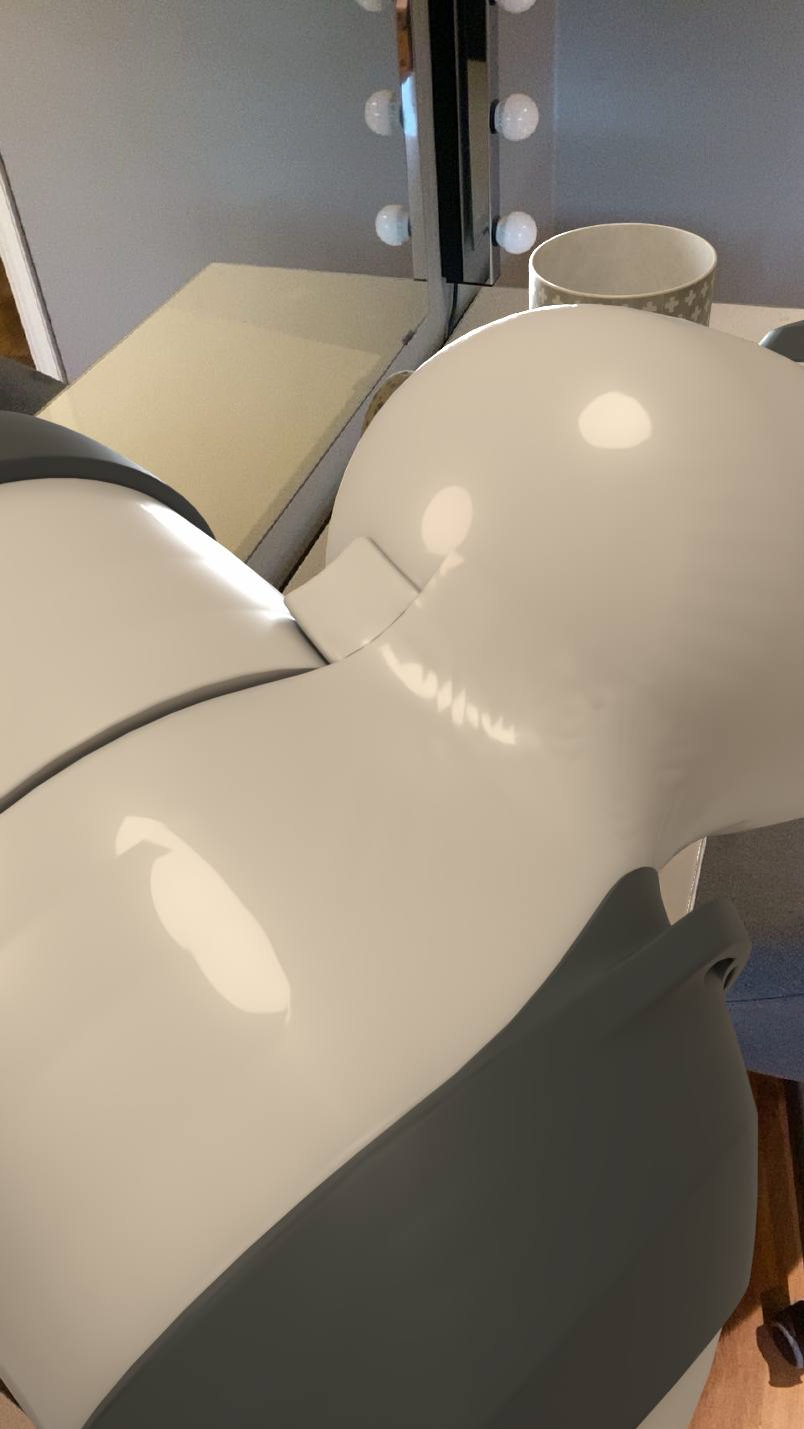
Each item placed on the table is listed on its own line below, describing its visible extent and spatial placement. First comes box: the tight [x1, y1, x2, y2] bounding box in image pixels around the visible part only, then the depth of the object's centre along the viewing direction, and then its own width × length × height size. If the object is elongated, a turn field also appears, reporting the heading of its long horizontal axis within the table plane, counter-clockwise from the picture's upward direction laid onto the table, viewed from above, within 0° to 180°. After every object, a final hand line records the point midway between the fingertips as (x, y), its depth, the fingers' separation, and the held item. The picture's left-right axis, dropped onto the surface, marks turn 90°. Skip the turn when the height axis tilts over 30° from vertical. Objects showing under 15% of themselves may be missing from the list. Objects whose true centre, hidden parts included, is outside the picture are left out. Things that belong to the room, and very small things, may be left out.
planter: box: [528, 222, 718, 327], centre depth 114 cm, size 19×19×18 cm
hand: (487, 591), depth 61 cm, fingers open, 8 cm apart
